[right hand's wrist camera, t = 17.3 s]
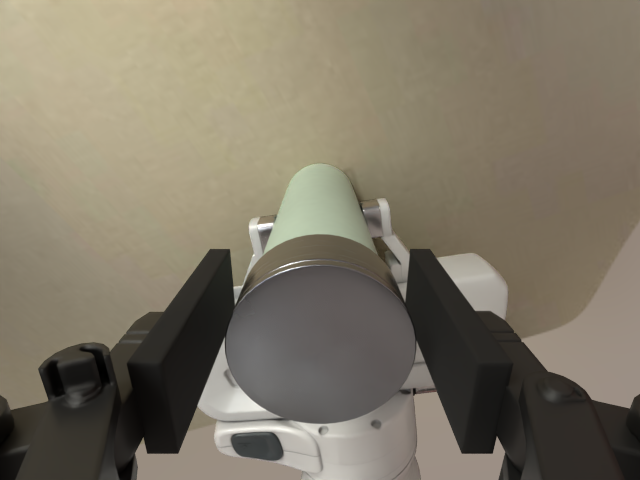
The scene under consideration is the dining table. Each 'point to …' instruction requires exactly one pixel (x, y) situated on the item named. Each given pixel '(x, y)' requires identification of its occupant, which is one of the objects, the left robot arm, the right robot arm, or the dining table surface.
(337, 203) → the green bottle
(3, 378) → the dining table surface
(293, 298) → the lid
